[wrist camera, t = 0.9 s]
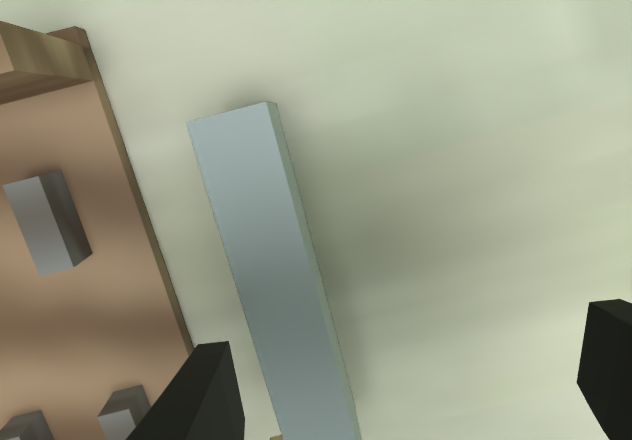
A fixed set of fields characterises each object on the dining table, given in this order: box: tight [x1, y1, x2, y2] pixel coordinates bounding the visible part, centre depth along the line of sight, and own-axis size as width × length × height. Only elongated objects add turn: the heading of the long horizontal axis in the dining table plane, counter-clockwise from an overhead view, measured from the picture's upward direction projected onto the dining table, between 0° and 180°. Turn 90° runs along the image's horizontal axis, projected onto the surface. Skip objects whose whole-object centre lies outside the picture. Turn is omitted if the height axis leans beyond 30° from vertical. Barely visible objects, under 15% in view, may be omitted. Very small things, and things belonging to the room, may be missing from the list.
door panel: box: [186, 102, 362, 440], centre depth 20 cm, size 16×4×8 cm, turn 14°
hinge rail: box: [0, 21, 194, 440], centre depth 21 cm, size 26×12×7 cm, turn 14°
